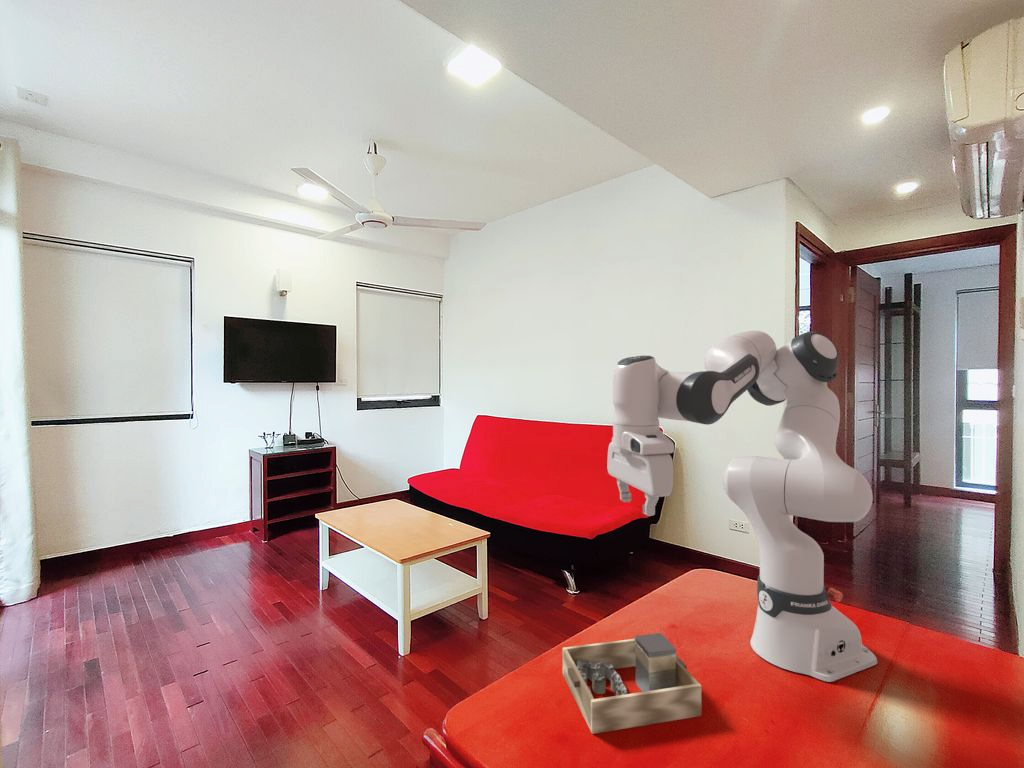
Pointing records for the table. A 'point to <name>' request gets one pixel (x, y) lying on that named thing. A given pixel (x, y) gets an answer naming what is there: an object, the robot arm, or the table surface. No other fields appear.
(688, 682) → the tote
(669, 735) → the table surface
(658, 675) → the tin
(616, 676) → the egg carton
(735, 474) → the robot arm
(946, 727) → the table surface
